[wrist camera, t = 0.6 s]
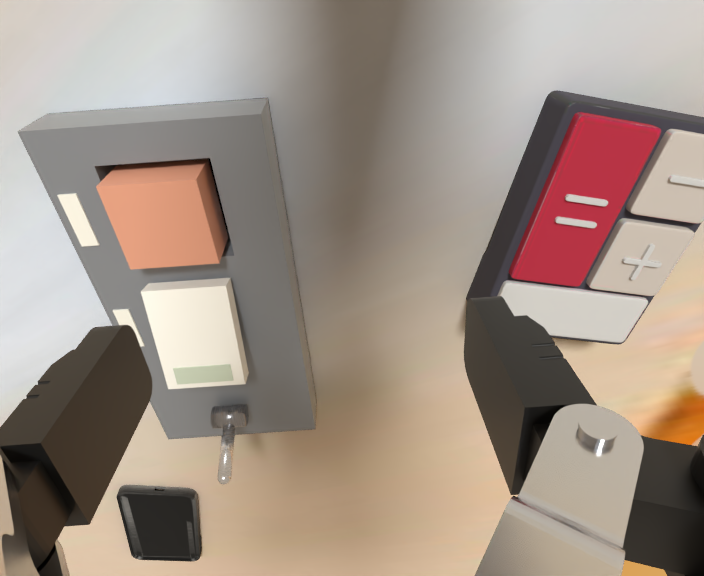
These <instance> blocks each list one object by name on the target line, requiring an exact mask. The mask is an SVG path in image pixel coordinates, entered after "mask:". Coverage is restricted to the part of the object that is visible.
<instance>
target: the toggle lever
mask: <svg viewBox="0 0 704 576" xmlns="http://www.w3.org/2000/svg"><path fill="white" fill-rule="evenodd" d="M248 418H249V414H248V407H247V405H246V404H244V405H229V406H214V407H213V408H212V411H211V425H212V428H213V429H216V428H223V430H222V440H221V450H220V460H219V470H218V481H219V482H220V483H221V484H227V483H228V482H229V481H230V479H231V472H232V460H233V449H234V437H235V427H245V426H247V424H248Z"/></svg>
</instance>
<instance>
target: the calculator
mask: <svg viewBox="0 0 704 576" xmlns="http://www.w3.org/2000/svg"><path fill="white" fill-rule="evenodd" d="M703 221H704V117H699V116H693V115H688V114H682V113H677V112H672V111H666V110H661V109H655V108H650V107H645V106H639V105H634V104H628V103H623V102H617V101H612V100H607V99H601V98H596V97H590V96H585V95H579V94H574V93H569V92H563V91H553V92H551V93H550V94H549V95H548V96H547V98H546V100H545V102H544V105H543V107H542V110H541V112H540V115H539V117H538V120H537V122H536V125H535V127H534V130H533V132H532V135H531V137H530V140H529V142H528V145H527V147H526V150H525V152H524V155H523V157H522V160H521V162H520V165H519V167H518V170H517V172H516V175H515V178H514V180H513V183H512V185H511V188H510V191H509V193H508V196H507V199H506V201H505V204H504V207H503V209H502V212H501V215H500V217H499V220H498V223H497V225H496V228H495V231H494V233H493V236H492V239H491V241H490V244H489V247H488V249H487V251H486V252H485V253H484V255H483V257H482V259H481V262H480V264H479V267H478V269H477V272H476V274H475V277H474V279H473V282H472V284H471V287H470V289H469V292H468V294H467V297H466V299H467V302H468V300H469V299H470V298H482V297H494V296H502V297H503V298H504V300H505V301H506V303H507V305H508V306H509V308H510V310H511V311H512V313H513V315H514V316H523V315H527V316H528V317H530V318H531V319H533V320H534V321H536V322H537V323H539V324H540V325H541V326H543V327H544V328H545V329H546V331H547V332H548V334H549V335H550V337H554V338H563V339H572V340H581V341H590V342H599V343H608V344H622V343H624V342H625V340H626V339H627V338H628V336H629V334H630V333H631V331H632V330H633V328H634V327H635V325H636V324H637V322H638V320H639V319H640V317H641V316H642V314H643V313H644V311H645V310H646V308H647V306H648V305H649V303H650V302H651V300H652V299H653V297H654V296H655V295H656V294H657V293H658V292H659V290H660V288H661V287H662V285H663V284H664V282H665V281H666V279H667V278H668V276H669V274H670V273H671V271H672V270H673V268H674V267H675V265H676V264H677V262H678V261H679V259H680V257H681V256H682V254H683V253H684V251H685V250H686V248H687V247H688V245H689V243H690V242H691V240H692V239H693V237H694V234H695V232H696V230H697V229H698V227H699V225H700V224H701V223H702V222H703Z"/></svg>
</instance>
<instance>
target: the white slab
mask: <svg viewBox="0 0 704 576" xmlns="http://www.w3.org/2000/svg"><path fill="white" fill-rule="evenodd" d="M141 295H142V298H143V302H144V305H145V309H146V312H147V316H148V319H149V323H150V326H151V330H152V333H153V337H154V340H155V344H156V348H157V351H158V355H159V358H160V362H161V365H162V369H163V372H164V376H165V379H166V383H167V386H168V389H182V388H196V387H211V386H225V385H240V384H246V380H247V377H248V374H249V372H248V367H247V362H246V357H245V351H244V346H243V341H242V336H241V330H240V325H239V320H238V315H237V310H236V304H235V299H234V294H233V289H232V283H231V278H218V279H203V280H189V281H175V282H160V283H148V284H147V285H146V286H145V288H144V289H143V290H142V291H141Z"/></svg>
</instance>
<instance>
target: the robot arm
mask: <svg viewBox="0 0 704 576" xmlns="http://www.w3.org/2000/svg"><path fill="white" fill-rule="evenodd" d="M464 361H465V368H466V373H467V376H468V379H469V382H470V385H471V387H472V390H473V393H474V396H475V398H476V401H477V404H478V406H479V409H480V412H481V415H482V417H483V420H484V423H485V425H486V428H487V431H488V434H489V436H490V439H491V442H492V445H493V447H494V450H495V453H496V455H497V458H498V461H499V464H500V466H501V469H502V472H503V474H504V477H505V480H506V483H507V485H508V488H509V491H510V493H511V495H517V494H519V495H518V497H515V496H513V497H512V498H511V499H510V501H509V503H508V504H507V506H506V508H505V510H504V513H503V515H502V517H501V519H500V521H499V524H498V526H497V528H496V530H495V532H494V535H493V537H492V539H491V541H490V543H489V545H488V548H487V550H486V552H485V554H484V556H483V559H482V561H481V563H480V565H479V567H478V570H477V572H476V574H475V576H621V574H622V569H623V564H624V560H628V561H631V562H635V563H640V564H644V565H648V566H652V567H656V568H660V569H664V570H665V572H666V574H667V576H704V435H703V436H702V438H701V440H700V442H699V445H698V446H692V445H686V444H680V443H674V442H669V441H663V440H657V439H652V438H648V437H644V436H641V435H640V434H639V432H638V431H637V429H636V428H635V427H634V426H633V425H632V424H631V423H630V422H629V421H628V420H627V419H625V418H624V417H622V416H621V415H619V414H617V413H615V412H613V411H611V410H609V409H606V408H604V407H600V406H597V405H596V403H595V402H594V400H593V399H592V397H591V396H590V394H589V393H588V391H587V390H586V388H585V387H584V385H583V384H582V383H581V381H580V380H579V378H578V377H577V375H576V374H575V372H574V371H573V369H572V368H571V366H570V365H569V363H568V362H567V360H566V359H564V358H563V354H562V353H561V351H560V350H559V348H558V347H557V346H555V343H554V341H553V340H552V338H551V337H550V335H549V334H548V332H547V331H546V329H545V328H544V327H543V326H541V325H540V324H539V323H537V322H536V321H534V320H533V319H531V318H530V317H528V316H527V315H523V316H514V315H513V313H512V311H511V310H510V308H509V306H508V305H507V303H506V301H505V300H504V298H503V297H502V296H494V297H482V298H470V299H469V300H468V302H467V310H466V326H465V343H464ZM151 395H152V377H151V373H150V370H149V368H148V365H147V363H146V360H145V357H144V355H143V352H142V350H141V347H140V344H139V342H138V339H137V337H136V334H135V332H134V330H133V328H132V327H131V326H129V325H117V326H104V327H95V328H93V329H91V330H90V331H89V333H88V334H87V335H86V337H85V338H84V339H83V340H82V342H81V343H80V344H79V345H78V347H77V348H76V349H75V350H71V351H70V352H69V353H67V354H66V355H65V356H63V357H62V358H60V359H59V360H58V361H56V362H55V363H54V364H52V365H51V366H50V367H49V369H48V370H47V371H46V372H45V374H44V375H43V376H42V377H41V378H40V380H39V381H38V385H35V386H34V387H33V388H32V389H31V391H30V392H29V393H28V394H27V398H26V399H23V400H22V402H21V403H20V404H19V405H18V407H17V408H16V409H15V410H14V411H13V413H12V414H11V415H10V416H9V417H8V419H7V420H6V421H5V422H4V424H3V425H2V426H1V427H0V576H70V575H69V571H68V567H67V563H66V559H65V555H64V551H63V548H62V546H61V544H60V542H59V541H58V537H59V535H60V533H61V531H62V529H63V527H64V526H75V525H89V524H90V522H91V520H92V518H93V516H94V514H95V512H96V510H97V508H98V506H99V504H100V502H101V500H102V498H103V496H104V494H105V492H106V489H107V487H108V485H109V483H110V481H111V479H112V477H113V475H114V473H115V471H116V469H117V467H118V465H119V463H120V461H121V459H122V457H123V455H124V452H125V450H126V448H127V446H128V444H129V442H130V440H131V438H132V436H133V434H134V432H135V430H136V428H137V426H138V424H139V422H140V420H141V418H142V416H143V413H144V411H145V409H146V407H147V405H148V403H149V401H150V399H151Z"/></svg>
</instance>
